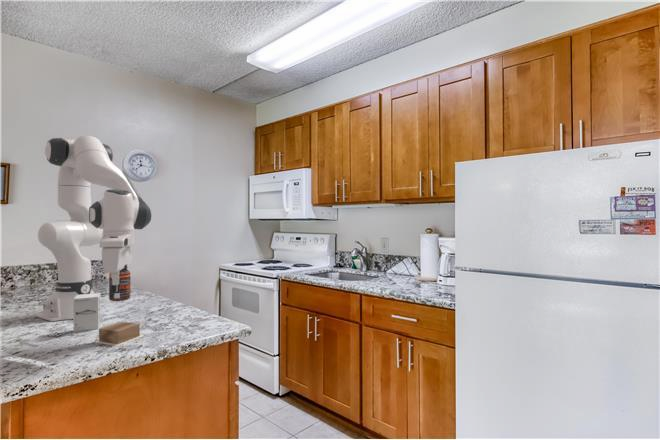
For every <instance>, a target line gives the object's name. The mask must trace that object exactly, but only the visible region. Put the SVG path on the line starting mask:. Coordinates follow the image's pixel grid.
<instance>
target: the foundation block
mask: <svg viewBox="0 0 660 440" xmlns="http://www.w3.org/2000/svg"><path fill="white" fill-rule="evenodd" d="M140 330H141V327H140V323H134V322H126V321H120V322H117V323H113V324H109V325H107V326H103V327H99V328H98V341H99V342H106V343H112V344H121V343H123V342H126V341H128V340H131V339H133V338H136V337H139V336H140V335H141V334H140V333H141V331H140Z"/></svg>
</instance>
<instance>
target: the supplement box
mask: <svg viewBox="0 0 660 440" xmlns="http://www.w3.org/2000/svg"><path fill="white" fill-rule="evenodd" d="M101 295H102V294H101V292H97V293H96V292H94V294H82V295H76V297H75V298H74V319H73V334H74V333H78V332H87V331H95V330H99V329H100V325H101Z"/></svg>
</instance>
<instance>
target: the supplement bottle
mask: <svg viewBox="0 0 660 440" xmlns="http://www.w3.org/2000/svg"><path fill="white" fill-rule="evenodd" d="M108 277H109V278H108V300H109V301H111V302H124V301H127V300H129V299H130V298H131V271H129V269H128V266H127V264H126V265H125V267H124V269H122V270H120V273H119V279H120V284H119V285H113V284H112V278H111V273H108Z"/></svg>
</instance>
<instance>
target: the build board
mask: <svg viewBox="0 0 660 440" xmlns="http://www.w3.org/2000/svg"><path fill="white" fill-rule="evenodd" d="M142 337H145V335H144V334H140V336H139V337H136V338H133V339H131V340H128V341H126V342H123V343H121V344H112V343H106V342H99V340H96V341H93V343H97V344H102V345H108V346H109V345H110V346H115V347H118V346H122V345H124V344H126V343H130V342H132V341H134V340H137V339H140V338H142Z"/></svg>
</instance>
